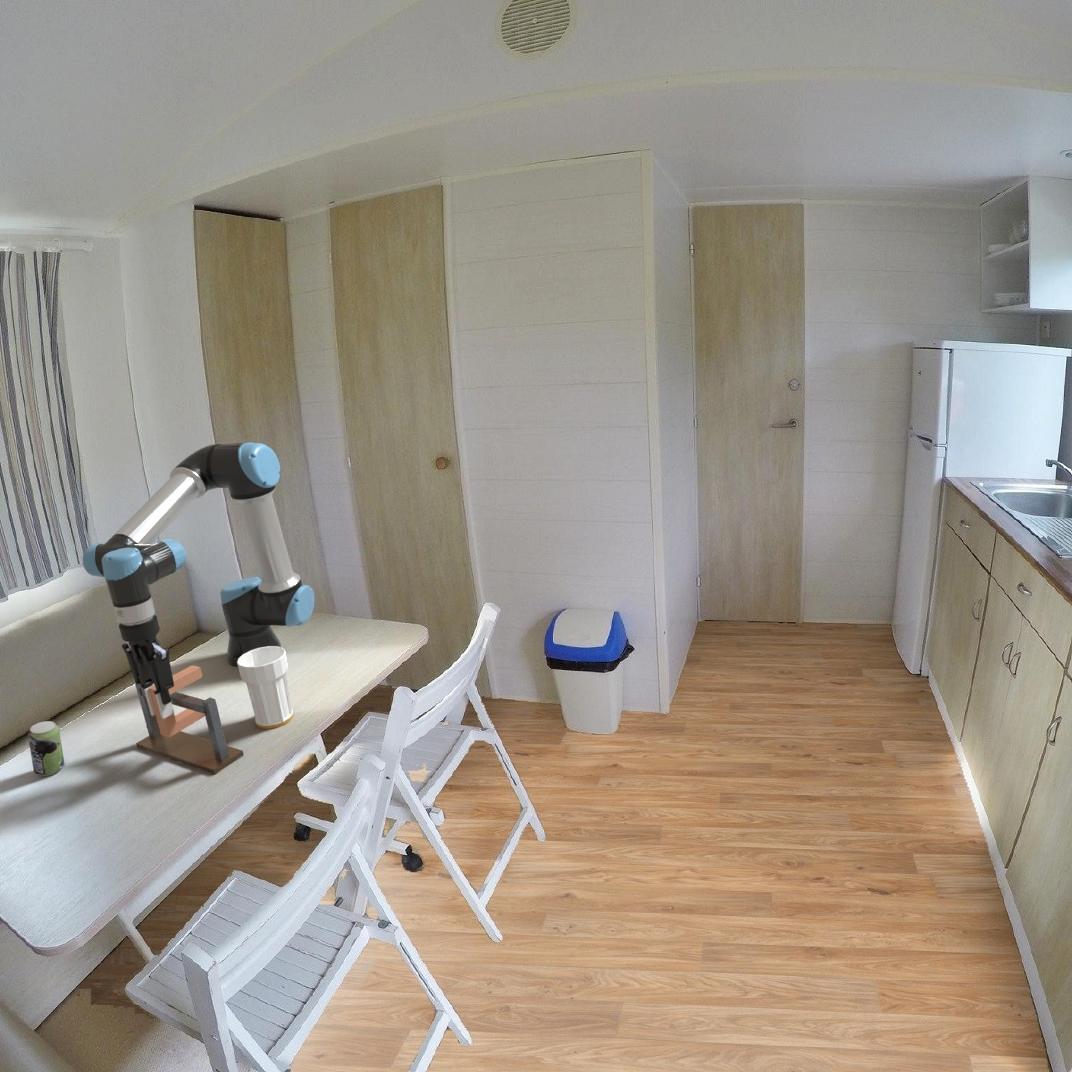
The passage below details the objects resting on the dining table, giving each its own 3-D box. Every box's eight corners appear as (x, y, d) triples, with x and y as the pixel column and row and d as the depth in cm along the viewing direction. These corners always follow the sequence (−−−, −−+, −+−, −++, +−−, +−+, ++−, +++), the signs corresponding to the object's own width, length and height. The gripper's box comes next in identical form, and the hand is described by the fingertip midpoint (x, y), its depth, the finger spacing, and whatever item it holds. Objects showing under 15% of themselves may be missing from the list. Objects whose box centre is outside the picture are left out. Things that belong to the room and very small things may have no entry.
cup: (241, 728, 189) (226, 664, 184) (271, 704, 199) (258, 643, 193) (278, 734, 185) (264, 669, 179) (307, 710, 195) (295, 648, 189)
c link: (160, 734, 176) (148, 688, 172) (203, 709, 185) (192, 665, 181) (169, 737, 174) (156, 690, 170) (211, 712, 183) (200, 667, 180)
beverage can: (43, 765, 180) (29, 720, 177) (76, 761, 181) (62, 716, 177) (29, 781, 174) (14, 735, 171) (62, 776, 175) (48, 731, 171)
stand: (137, 747, 184) (120, 688, 179) (166, 730, 191) (151, 672, 186) (215, 774, 171) (199, 711, 166) (243, 755, 177) (229, 693, 172)
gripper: (98, 621, 167) (125, 715, 175) (144, 631, 160) (170, 729, 167) (130, 607, 174) (155, 699, 181) (176, 617, 166) (200, 712, 173)
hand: (162, 713), depth 174 cm, fingers closed on c link, 3 cm apart
